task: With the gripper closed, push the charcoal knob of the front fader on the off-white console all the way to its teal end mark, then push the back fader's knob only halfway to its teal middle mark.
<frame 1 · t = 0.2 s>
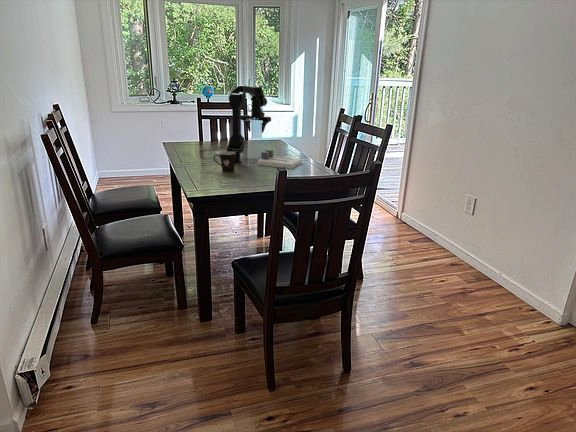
hand: (256, 132, 277), 14 cm above the table, fingers open, 9 cm apart
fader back: (269, 153, 263), point 5 cm above the table, slide at 0.0 cm
console: (279, 163, 257), on the table
fader front: (265, 155, 258), point 5 cm above the table, slide at 0.0 cm
coffee mug: (226, 170, 239), on the table
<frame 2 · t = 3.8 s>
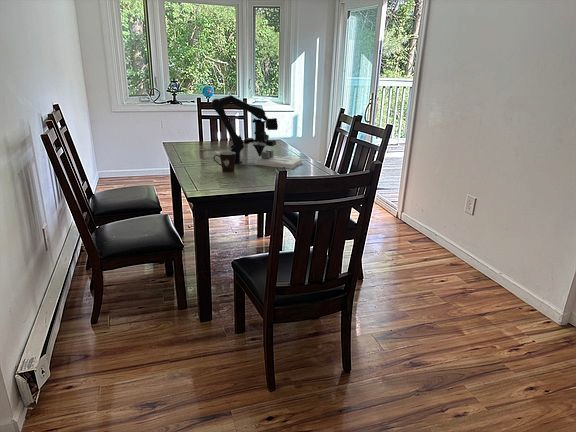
hand: (260, 156, 259), 4 cm above the table, fingers closed
fader front: (265, 155, 258), point 5 cm above the table, slide at 0.1 cm, touching gripper
everything else where it was.
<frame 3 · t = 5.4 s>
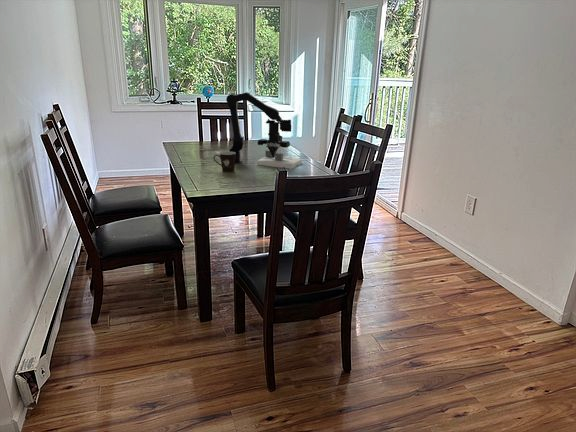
hand: (273, 157, 256), 4 cm above the table, fingers closed
fader front: (279, 156, 255), point 5 cm above the table, slide at 9.0 cm, touching gripper
everything else where it was.
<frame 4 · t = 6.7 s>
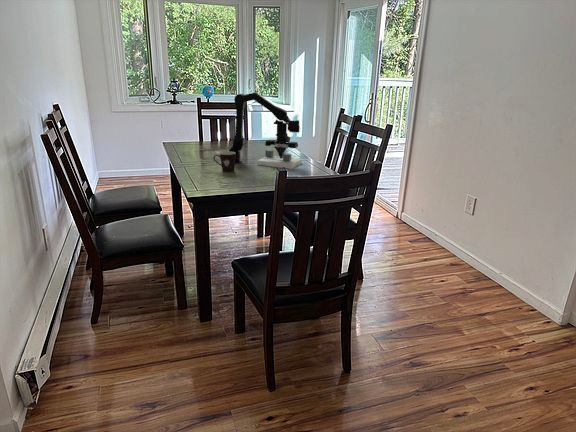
hand: (281, 158, 255), 4 cm above the table, fingers closed
fader front: (287, 157, 253), point 5 cm above the table, slide at 14.0 cm, touching gripper
everything else where it was.
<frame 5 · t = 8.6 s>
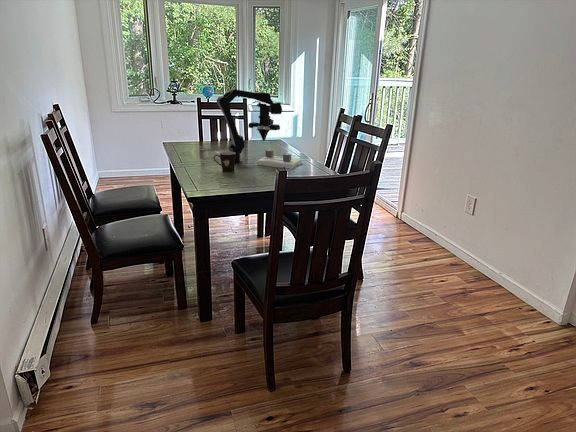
hand: (263, 140, 260), 12 cm above the table, fingers closed
fader front: (287, 157, 253), point 5 cm above the table, slide at 14.0 cm
everything else where it was.
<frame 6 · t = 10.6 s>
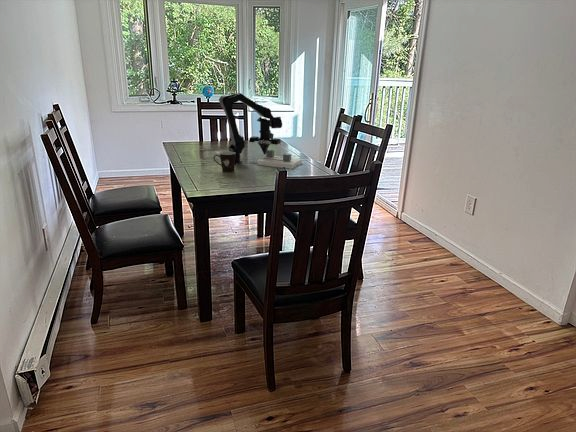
hand: (264, 154, 264), 4 cm above the table, fingers closed
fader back: (270, 153, 263), point 5 cm above the table, slide at 0.5 cm, touching gripper
everything else where it was.
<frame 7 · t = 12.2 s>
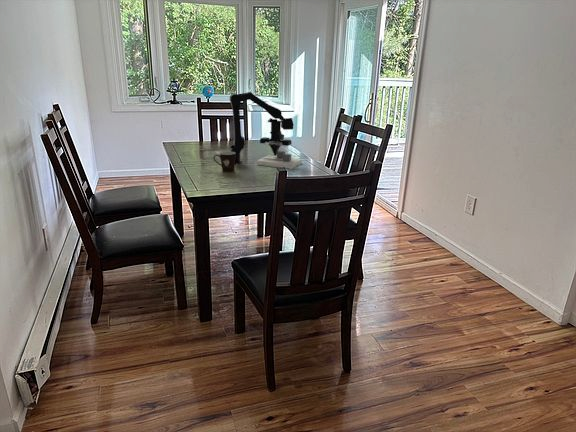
hand: (275, 155, 262), 4 cm above the table, fingers closed
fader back: (281, 154, 260), point 5 cm above the table, slide at 7.7 cm, touching gripper
everything else where it was.
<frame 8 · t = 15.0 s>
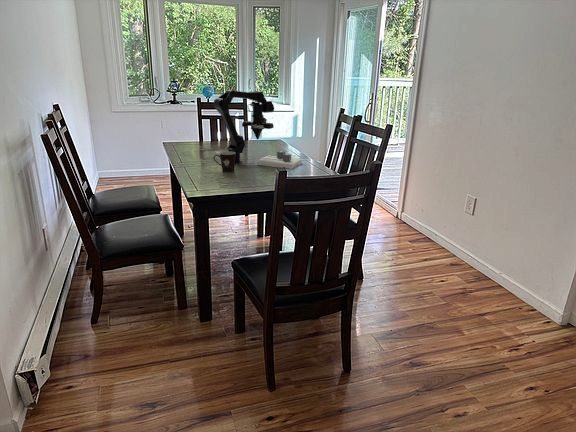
hand: (257, 139, 263), 13 cm above the table, fingers closed
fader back: (281, 154, 260), point 5 cm above the table, slide at 7.7 cm
everything else where it was.
at the end: fader front slide at 14.0 cm; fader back slide at 7.7 cm; coffee mug moved 0.2 cm from its start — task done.
